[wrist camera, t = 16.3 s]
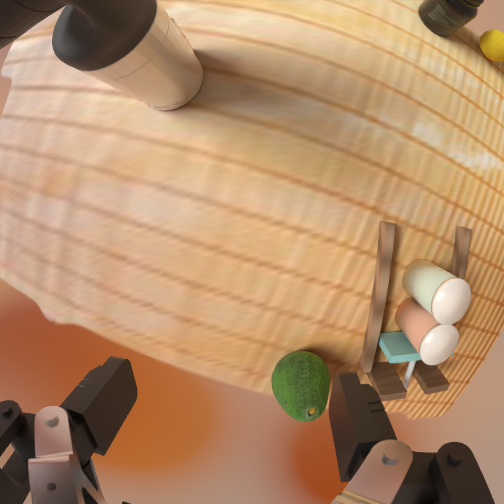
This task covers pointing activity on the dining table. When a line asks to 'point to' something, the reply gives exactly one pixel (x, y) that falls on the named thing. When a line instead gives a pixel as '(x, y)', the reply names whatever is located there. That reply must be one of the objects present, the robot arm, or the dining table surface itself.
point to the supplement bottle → (447, 14)
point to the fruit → (301, 385)
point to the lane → (382, 373)
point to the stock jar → (426, 332)
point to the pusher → (399, 351)
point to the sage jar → (437, 291)
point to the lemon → (493, 45)
